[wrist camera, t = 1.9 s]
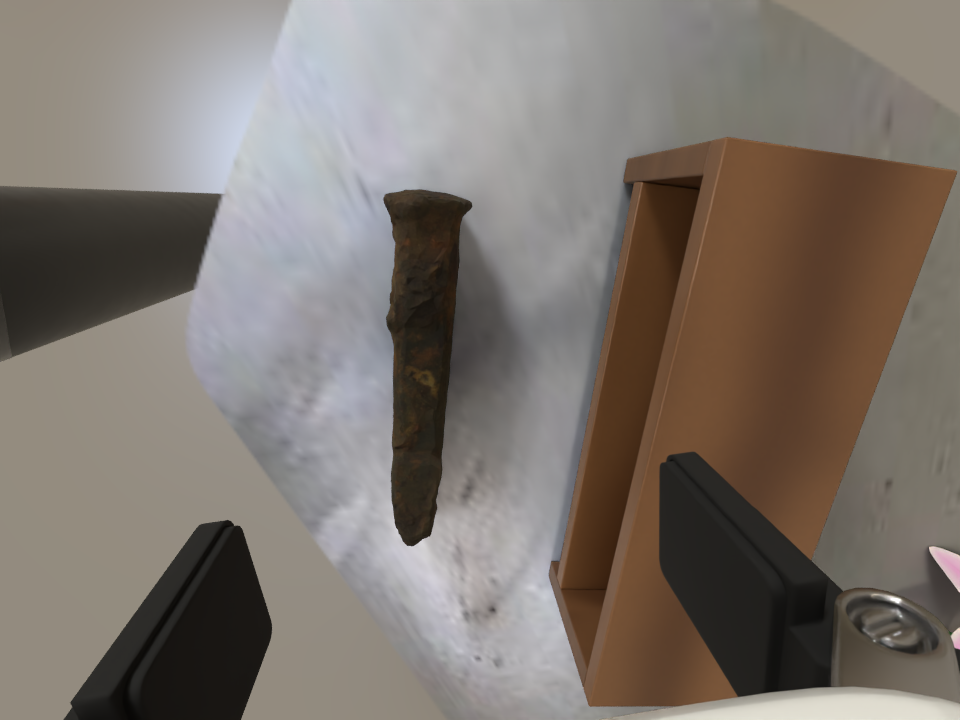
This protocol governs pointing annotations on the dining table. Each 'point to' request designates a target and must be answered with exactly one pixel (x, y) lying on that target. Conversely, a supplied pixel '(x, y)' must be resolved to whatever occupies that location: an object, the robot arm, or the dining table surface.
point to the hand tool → (421, 348)
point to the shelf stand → (730, 376)
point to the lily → (956, 570)
